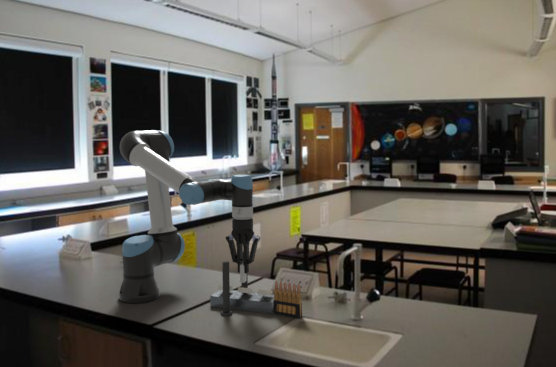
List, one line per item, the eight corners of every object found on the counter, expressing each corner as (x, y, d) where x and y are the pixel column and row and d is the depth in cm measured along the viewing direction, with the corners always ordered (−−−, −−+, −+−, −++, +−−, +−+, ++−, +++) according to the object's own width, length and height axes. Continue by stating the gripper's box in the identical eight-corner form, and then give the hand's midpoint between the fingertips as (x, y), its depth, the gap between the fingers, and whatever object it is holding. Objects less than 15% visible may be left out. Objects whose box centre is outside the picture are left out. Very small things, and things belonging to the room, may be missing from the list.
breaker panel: (210, 306, 199) (210, 295, 199) (220, 299, 208) (220, 288, 207) (271, 313, 191) (271, 302, 191) (279, 305, 200) (279, 295, 199)
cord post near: (218, 315, 190) (218, 263, 188) (223, 311, 194) (222, 260, 192) (229, 316, 189) (228, 264, 187) (233, 312, 192) (233, 261, 190)
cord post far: (238, 300, 206) (237, 252, 204) (242, 297, 209) (241, 250, 207) (247, 301, 205) (246, 252, 203) (250, 298, 208) (250, 250, 206)
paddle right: (258, 294, 194) (258, 289, 195) (262, 294, 199) (263, 289, 199) (267, 295, 193) (267, 290, 194) (271, 295, 198) (272, 290, 198)
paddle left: (217, 290, 200) (218, 285, 200) (223, 290, 204) (223, 285, 205) (226, 290, 198) (227, 286, 199) (231, 291, 203) (232, 286, 203)
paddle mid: (237, 292, 197) (238, 287, 197) (242, 292, 202) (243, 287, 202) (246, 293, 196) (247, 288, 196) (251, 293, 200) (252, 288, 201)
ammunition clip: (302, 317, 188) (302, 283, 187) (300, 318, 186) (300, 285, 185) (275, 312, 193) (275, 279, 192) (272, 313, 191) (272, 280, 190)
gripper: (221, 218, 193) (222, 282, 196) (255, 220, 189) (256, 286, 191) (230, 215, 200) (231, 277, 203) (263, 216, 196) (263, 280, 198)
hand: (243, 281), depth 197 cm, fingers closed
